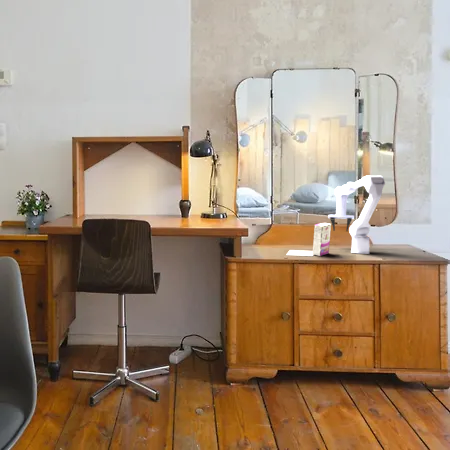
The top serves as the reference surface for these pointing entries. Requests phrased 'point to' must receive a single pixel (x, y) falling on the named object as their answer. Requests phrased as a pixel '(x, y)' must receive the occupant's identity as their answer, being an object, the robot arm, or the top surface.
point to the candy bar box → (321, 239)
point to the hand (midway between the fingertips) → (340, 231)
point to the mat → (300, 253)
